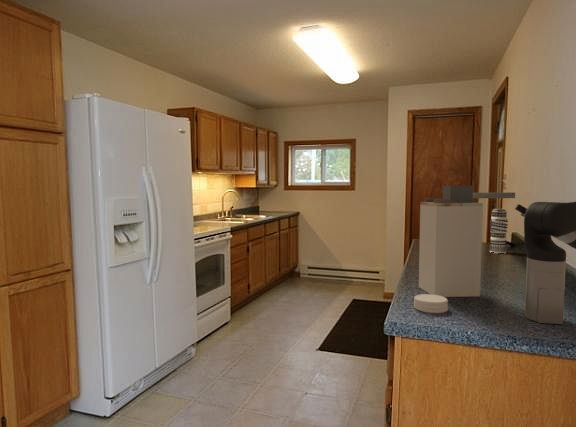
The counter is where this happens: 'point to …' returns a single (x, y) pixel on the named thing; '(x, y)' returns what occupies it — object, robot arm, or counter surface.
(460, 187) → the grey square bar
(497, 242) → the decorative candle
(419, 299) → the coaster
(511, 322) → the counter surface
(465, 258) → the cabinet
